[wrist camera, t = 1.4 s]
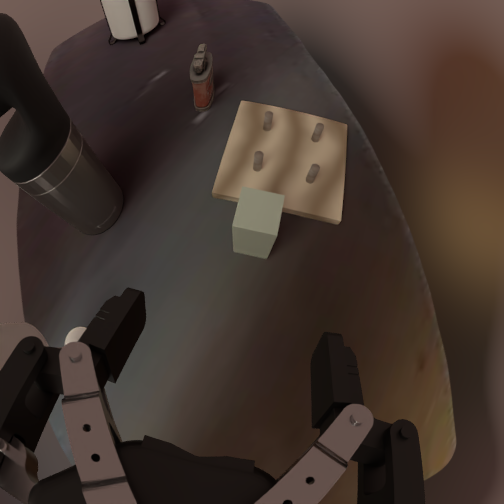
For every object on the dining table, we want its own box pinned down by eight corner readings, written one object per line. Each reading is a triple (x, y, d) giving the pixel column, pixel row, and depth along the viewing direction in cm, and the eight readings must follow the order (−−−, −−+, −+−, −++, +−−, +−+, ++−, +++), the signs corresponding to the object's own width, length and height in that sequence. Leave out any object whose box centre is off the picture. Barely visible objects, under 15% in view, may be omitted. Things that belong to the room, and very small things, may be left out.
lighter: (211, 111, 44) (207, 68, 34) (191, 111, 44) (184, 68, 34) (216, 81, 46) (214, 40, 36) (198, 82, 46) (193, 41, 36)
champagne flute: (110, 348, 34) (-23, 360, 11) (88, 382, 32) (-39, 416, 9) (78, 316, 34) (-55, 293, 11) (57, 350, 33) (-72, 351, 10)
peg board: (212, 197, 40) (209, 180, 35) (241, 106, 44) (242, 85, 40) (337, 224, 40) (349, 211, 35) (344, 129, 44) (353, 111, 39)
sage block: (266, 258, 38) (277, 235, 28) (233, 251, 38) (232, 226, 28) (273, 227, 39) (284, 195, 29) (240, 220, 39) (242, 186, 29)
